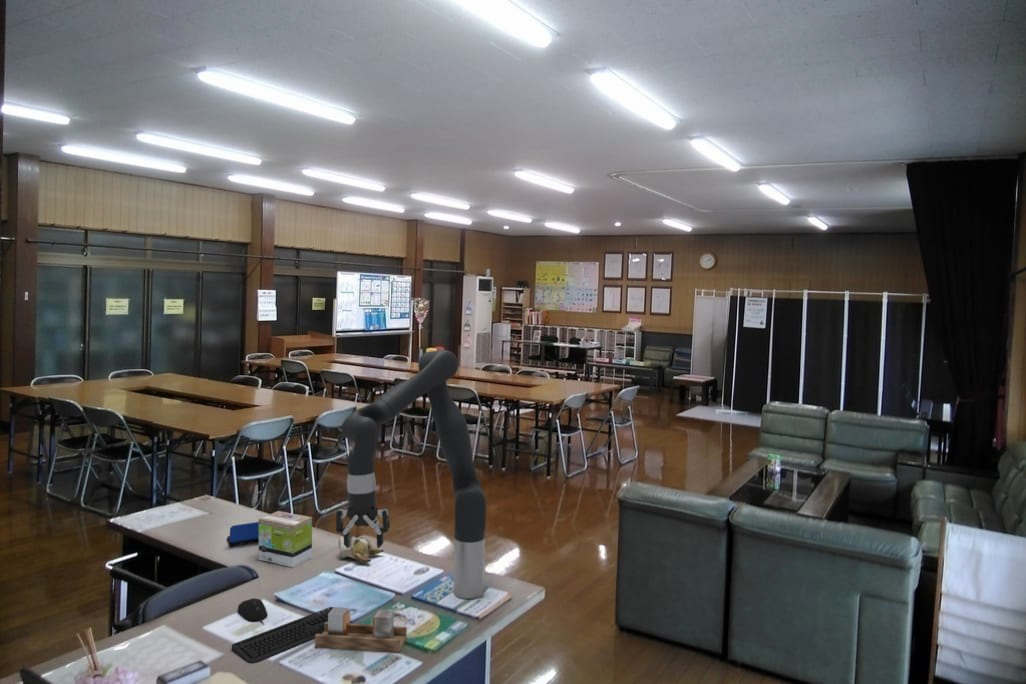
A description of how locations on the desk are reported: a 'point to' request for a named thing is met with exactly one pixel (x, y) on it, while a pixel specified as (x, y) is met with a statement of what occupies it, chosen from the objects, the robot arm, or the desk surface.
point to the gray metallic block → (339, 621)
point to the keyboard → (282, 637)
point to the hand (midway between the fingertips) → (363, 546)
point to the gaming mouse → (253, 610)
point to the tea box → (285, 538)
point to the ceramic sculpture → (358, 549)
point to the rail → (367, 635)
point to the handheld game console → (244, 534)
